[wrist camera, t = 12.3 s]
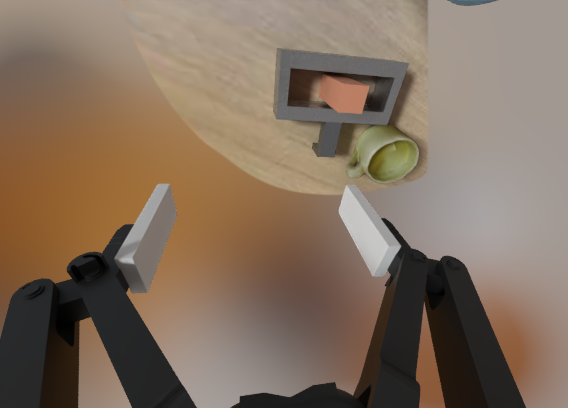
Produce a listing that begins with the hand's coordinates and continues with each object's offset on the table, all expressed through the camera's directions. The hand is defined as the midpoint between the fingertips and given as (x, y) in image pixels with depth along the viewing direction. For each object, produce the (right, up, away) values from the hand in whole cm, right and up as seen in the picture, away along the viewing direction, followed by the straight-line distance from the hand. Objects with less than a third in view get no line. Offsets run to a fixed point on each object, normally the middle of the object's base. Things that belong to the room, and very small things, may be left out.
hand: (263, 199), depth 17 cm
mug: (+18, +11, +29) cm, 36 cm away
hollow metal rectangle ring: (+9, +17, +23) cm, 30 cm away
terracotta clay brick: (+10, +20, +21) cm, 30 cm away
